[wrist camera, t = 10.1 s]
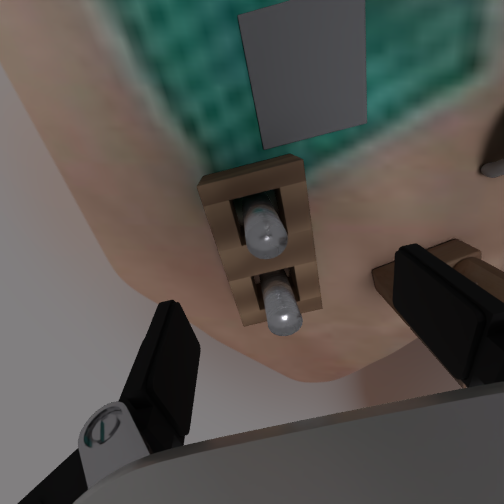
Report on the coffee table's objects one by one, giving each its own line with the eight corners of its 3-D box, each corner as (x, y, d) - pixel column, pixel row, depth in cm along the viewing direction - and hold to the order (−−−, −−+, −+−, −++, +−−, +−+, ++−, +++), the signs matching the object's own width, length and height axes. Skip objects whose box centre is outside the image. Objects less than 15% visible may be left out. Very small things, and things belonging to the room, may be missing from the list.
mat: (237, 17, 20) (237, 15, 19) (362, -19, 19) (364, -21, 19) (263, 149, 24) (264, 149, 24) (364, 123, 24) (366, 123, 23)
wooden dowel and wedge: (370, 269, 32) (513, 416, 15) (456, 237, 30) (708, 360, 14) (375, 290, 33) (508, 443, 17) (456, 260, 32) (683, 396, 16)
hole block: (203, 176, 25) (196, 186, 20) (290, 153, 24) (303, 159, 20) (242, 299, 32) (243, 326, 28) (309, 283, 32) (322, 308, 27)
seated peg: (255, 257, 30) (264, 313, 21) (279, 251, 29) (299, 305, 21) (260, 278, 31) (271, 339, 22) (283, 272, 31) (304, 331, 22)
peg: (238, 192, 26) (241, 226, 17) (266, 185, 26) (283, 216, 17) (245, 218, 27) (251, 263, 18) (271, 212, 27) (290, 253, 18)
